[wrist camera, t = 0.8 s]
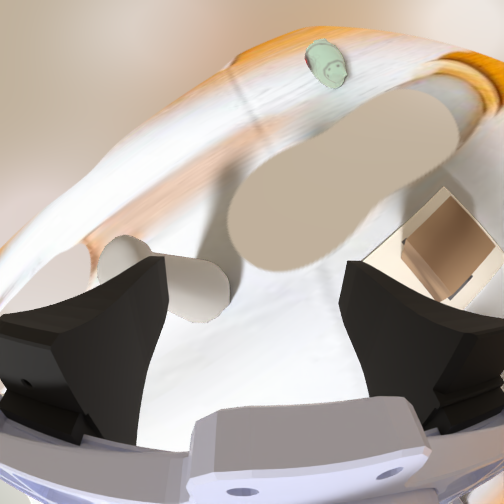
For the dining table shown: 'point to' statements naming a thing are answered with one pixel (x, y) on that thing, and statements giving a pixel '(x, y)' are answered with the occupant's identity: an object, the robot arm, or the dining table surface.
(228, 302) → the salt shaker
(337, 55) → the green seashell
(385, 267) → the label tile
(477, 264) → the block
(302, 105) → the dining table surface
